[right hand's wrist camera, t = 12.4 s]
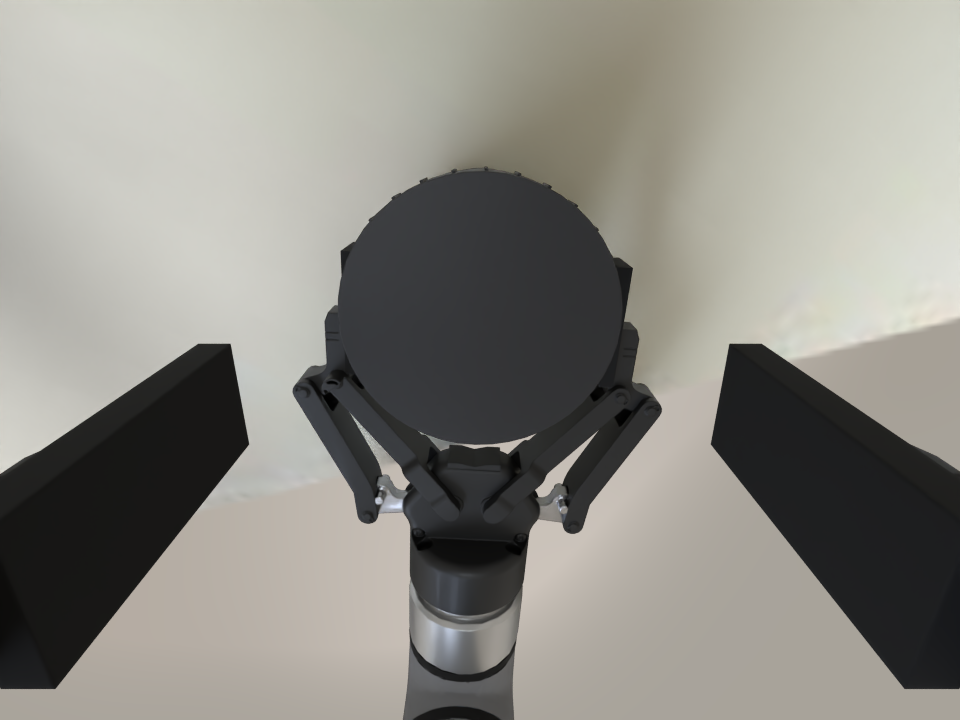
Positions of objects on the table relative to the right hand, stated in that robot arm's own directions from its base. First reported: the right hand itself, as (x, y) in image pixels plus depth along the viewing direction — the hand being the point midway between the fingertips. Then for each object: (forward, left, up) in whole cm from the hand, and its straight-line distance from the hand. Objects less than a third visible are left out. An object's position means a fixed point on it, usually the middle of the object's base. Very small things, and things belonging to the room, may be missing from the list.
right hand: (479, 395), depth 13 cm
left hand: (0, -1, -15) cm, 15 cm away
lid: (0, 0, -6) cm, 6 cm away
